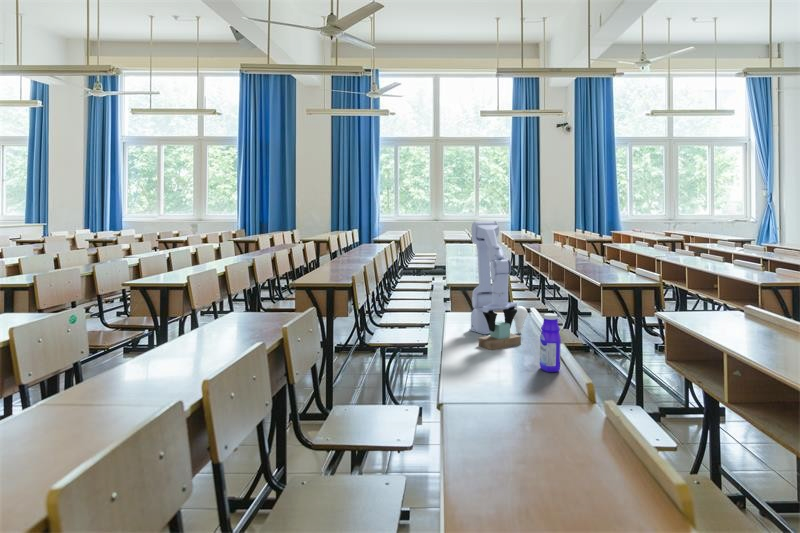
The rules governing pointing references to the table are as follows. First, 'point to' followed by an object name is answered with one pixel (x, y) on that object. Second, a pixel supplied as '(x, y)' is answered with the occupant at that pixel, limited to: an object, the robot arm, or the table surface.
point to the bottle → (550, 344)
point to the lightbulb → (520, 318)
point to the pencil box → (499, 342)
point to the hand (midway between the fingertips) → (499, 329)
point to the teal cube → (501, 330)
